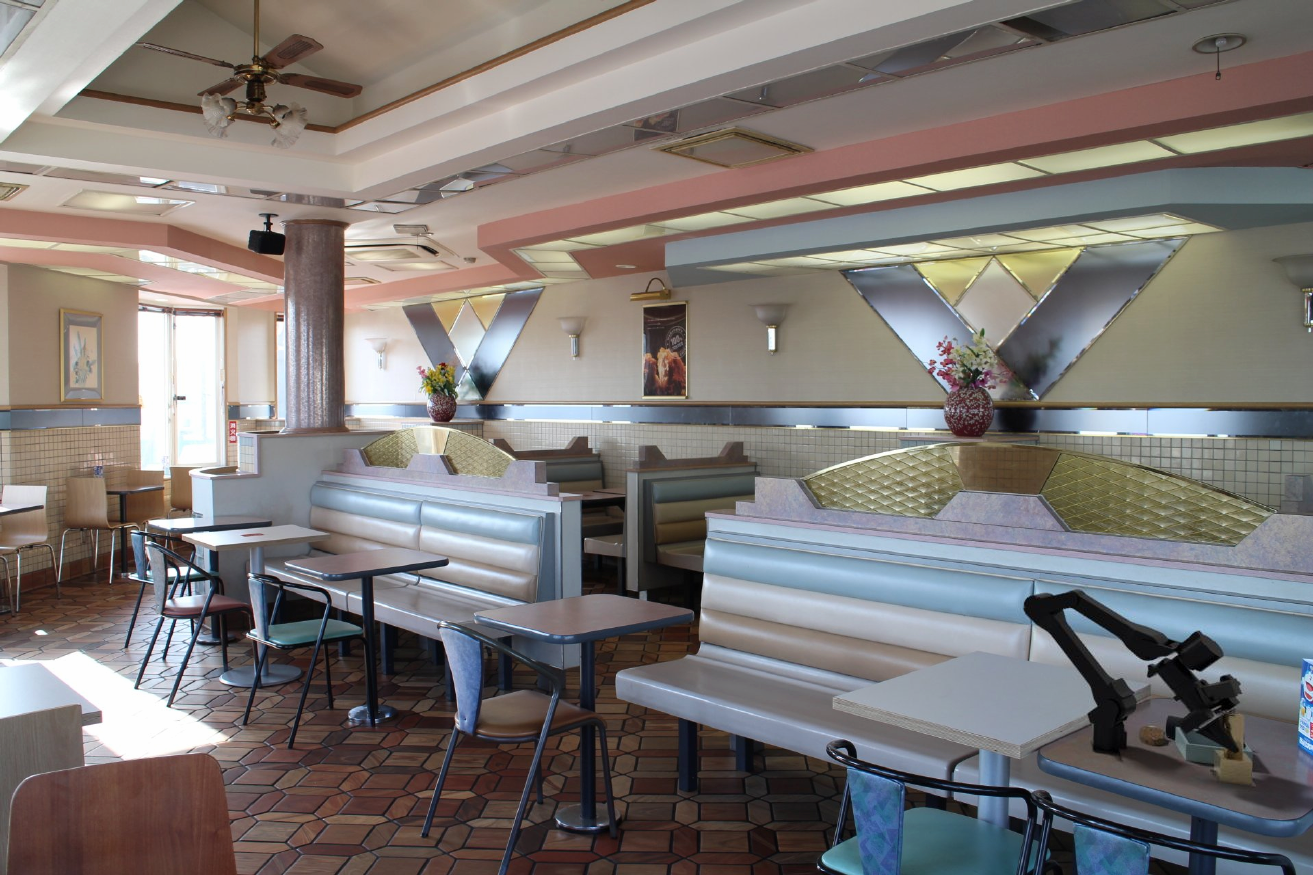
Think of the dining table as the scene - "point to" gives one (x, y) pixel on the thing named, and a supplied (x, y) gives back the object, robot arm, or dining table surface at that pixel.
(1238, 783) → the plate
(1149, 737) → the ice cream bar
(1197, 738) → the bin
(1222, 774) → the gold trophy
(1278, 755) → the dining table surface
